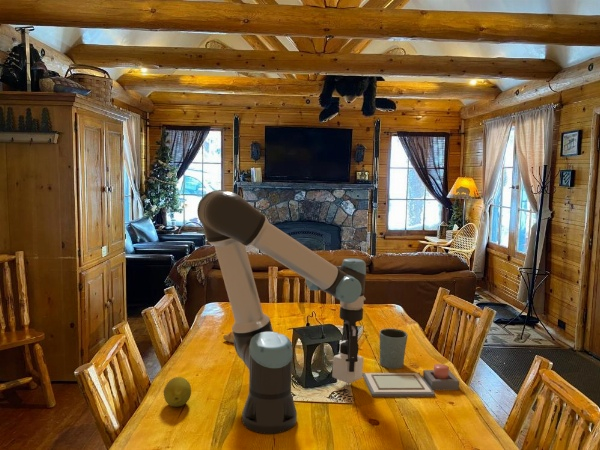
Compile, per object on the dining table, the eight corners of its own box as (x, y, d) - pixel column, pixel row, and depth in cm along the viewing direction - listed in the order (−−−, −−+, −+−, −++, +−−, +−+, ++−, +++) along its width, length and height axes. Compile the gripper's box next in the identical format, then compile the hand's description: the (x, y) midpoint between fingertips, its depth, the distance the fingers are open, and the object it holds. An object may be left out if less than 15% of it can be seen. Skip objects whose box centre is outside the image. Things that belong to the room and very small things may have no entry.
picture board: (434, 396, 152) (435, 391, 152) (372, 396, 151) (372, 392, 151) (419, 375, 168) (419, 371, 168) (362, 375, 167) (362, 371, 167)
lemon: (168, 396, 147) (168, 371, 147) (194, 397, 148) (194, 371, 147) (158, 414, 137) (158, 387, 136) (186, 414, 137) (186, 387, 136)
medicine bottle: (362, 378, 158) (364, 342, 157) (349, 384, 153) (351, 347, 152) (345, 371, 163) (347, 336, 162) (331, 377, 158) (333, 341, 157)
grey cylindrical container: (388, 357, 185) (390, 326, 184) (411, 365, 178) (413, 333, 176) (372, 364, 178) (373, 332, 177) (395, 372, 171) (397, 339, 169)
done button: (450, 381, 159) (451, 369, 159) (436, 381, 159) (436, 369, 158) (445, 375, 164) (445, 364, 164) (431, 375, 164) (431, 364, 163)
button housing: (458, 390, 157) (459, 381, 157) (431, 390, 157) (432, 381, 157) (448, 378, 166) (449, 370, 166) (422, 378, 166) (423, 370, 165)
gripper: (370, 317, 145) (365, 389, 147) (356, 298, 167) (352, 361, 169) (345, 316, 145) (341, 388, 146) (335, 298, 167) (331, 360, 169)
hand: (347, 374), depth 158 cm, fingers closed on medicine bottle, 10 cm apart
